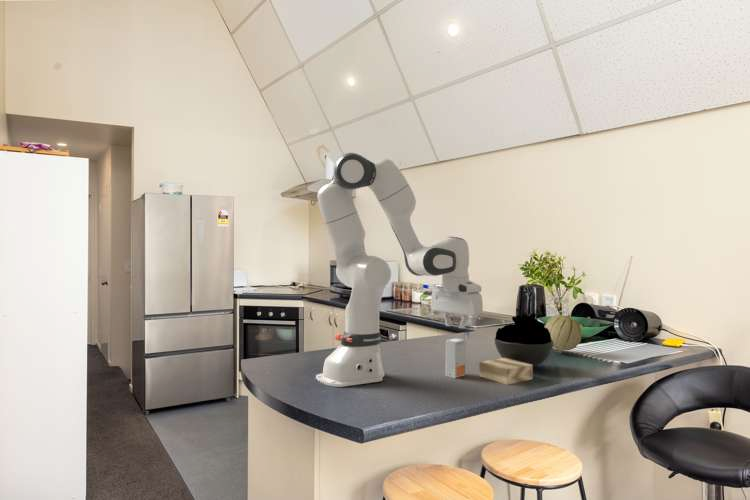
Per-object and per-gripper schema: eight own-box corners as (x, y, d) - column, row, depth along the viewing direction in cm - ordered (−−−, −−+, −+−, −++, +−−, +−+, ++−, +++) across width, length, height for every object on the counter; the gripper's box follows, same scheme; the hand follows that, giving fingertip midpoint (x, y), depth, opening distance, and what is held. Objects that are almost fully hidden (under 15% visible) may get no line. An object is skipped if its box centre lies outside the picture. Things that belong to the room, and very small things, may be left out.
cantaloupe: (536, 348, 205) (536, 313, 205) (562, 345, 211) (562, 311, 211) (563, 355, 192) (563, 317, 192) (589, 351, 198) (589, 315, 198)
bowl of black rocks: (513, 376, 160) (513, 319, 160) (484, 362, 180) (484, 312, 180) (565, 372, 166) (565, 317, 166) (531, 359, 185) (531, 310, 185)
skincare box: (455, 378, 158) (455, 342, 158) (444, 376, 161) (444, 340, 161) (466, 375, 162) (466, 339, 162) (455, 373, 165) (455, 337, 165)
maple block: (506, 385, 151) (506, 369, 151) (479, 377, 161) (479, 362, 161) (532, 380, 157) (532, 364, 157) (504, 372, 167) (504, 357, 167)
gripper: (426, 284, 168) (426, 323, 168) (473, 287, 152) (472, 331, 152) (439, 283, 172) (438, 322, 172) (485, 287, 156) (485, 330, 156)
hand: (455, 326), depth 162 cm, fingers open, 4 cm apart
